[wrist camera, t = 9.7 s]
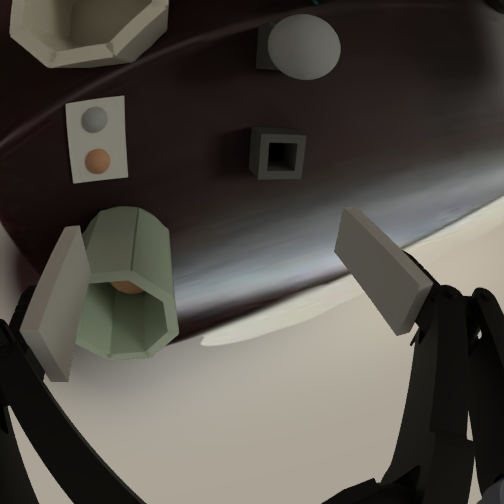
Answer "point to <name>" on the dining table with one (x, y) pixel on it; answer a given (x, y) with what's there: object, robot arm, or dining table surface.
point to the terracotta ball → (127, 287)
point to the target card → (97, 139)
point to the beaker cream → (87, 30)
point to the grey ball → (304, 47)
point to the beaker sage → (136, 271)
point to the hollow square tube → (291, 153)
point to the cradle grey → (264, 47)
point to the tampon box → (317, 2)
